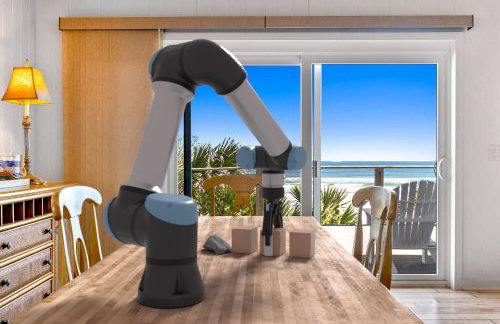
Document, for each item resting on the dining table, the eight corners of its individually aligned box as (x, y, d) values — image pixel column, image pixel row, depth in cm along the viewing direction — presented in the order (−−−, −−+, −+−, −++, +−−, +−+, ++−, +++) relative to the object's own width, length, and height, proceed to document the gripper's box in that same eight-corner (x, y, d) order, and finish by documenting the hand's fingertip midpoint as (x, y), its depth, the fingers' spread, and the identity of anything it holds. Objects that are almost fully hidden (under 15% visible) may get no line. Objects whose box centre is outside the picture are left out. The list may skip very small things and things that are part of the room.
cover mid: (280, 255, 153) (280, 231, 153) (259, 254, 155) (259, 230, 155) (285, 251, 159) (285, 228, 159) (265, 250, 162) (266, 227, 162)
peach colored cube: (251, 253, 156) (251, 229, 156) (231, 252, 158) (231, 228, 158) (257, 249, 163) (257, 226, 163) (238, 248, 165) (238, 225, 165)
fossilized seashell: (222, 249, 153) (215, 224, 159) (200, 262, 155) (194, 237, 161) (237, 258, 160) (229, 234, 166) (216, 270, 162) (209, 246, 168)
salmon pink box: (310, 258, 150) (310, 233, 150) (289, 256, 152) (289, 231, 152) (314, 253, 156) (314, 229, 156) (294, 252, 159) (294, 228, 158)
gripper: (274, 188, 145) (274, 260, 145) (292, 184, 167) (292, 246, 167) (251, 188, 147) (251, 258, 148) (271, 184, 169) (271, 245, 169)
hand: (273, 252), depth 157 cm, fingers open, 10 cm apart
